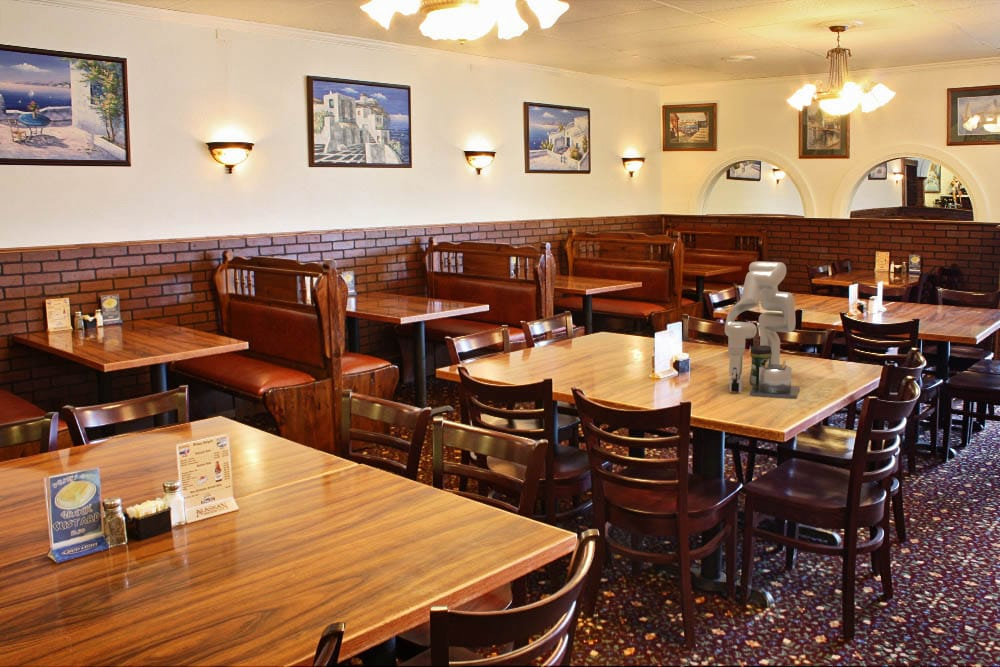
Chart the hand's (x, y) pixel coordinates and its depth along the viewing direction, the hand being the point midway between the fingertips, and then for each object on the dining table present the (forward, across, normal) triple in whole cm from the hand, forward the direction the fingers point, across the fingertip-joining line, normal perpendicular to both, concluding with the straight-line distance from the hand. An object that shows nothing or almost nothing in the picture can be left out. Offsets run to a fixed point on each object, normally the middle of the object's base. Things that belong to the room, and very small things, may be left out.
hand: (735, 389), depth 406 cm
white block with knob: (+1, 0, 0) cm, 1 cm away
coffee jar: (+1, -19, +9) cm, 21 cm away
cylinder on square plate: (+1, -2, +17) cm, 17 cm away
